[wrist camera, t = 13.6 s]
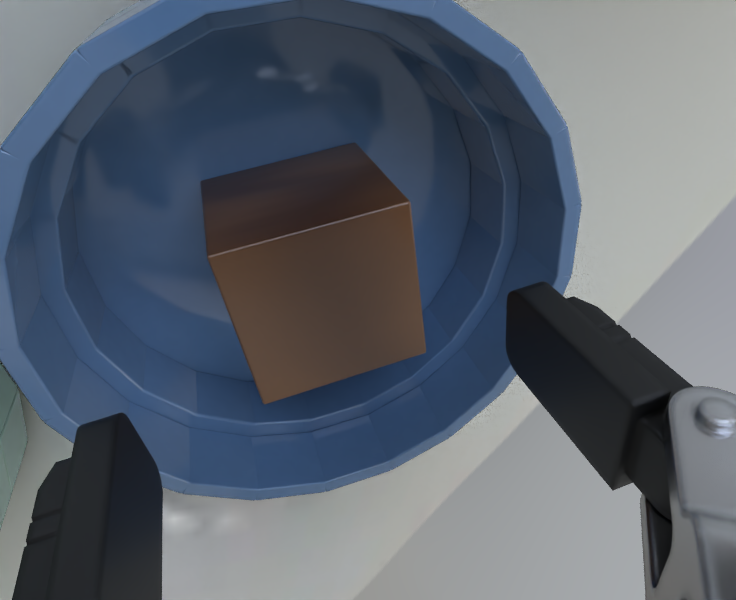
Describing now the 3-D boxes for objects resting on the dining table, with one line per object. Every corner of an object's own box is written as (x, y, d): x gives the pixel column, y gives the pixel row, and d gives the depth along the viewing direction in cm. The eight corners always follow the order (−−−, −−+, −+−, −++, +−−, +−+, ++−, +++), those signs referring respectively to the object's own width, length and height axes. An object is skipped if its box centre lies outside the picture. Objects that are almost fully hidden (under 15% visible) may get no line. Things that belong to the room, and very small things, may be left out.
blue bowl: (62, 399, 18) (29, 529, 14) (-5, -108, 11) (-110, -143, 7) (431, 381, 23) (485, 473, 19) (548, 22, 16) (673, 46, 12)
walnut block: (245, 309, 17) (263, 406, 14) (199, 180, 15) (206, 256, 11) (377, 271, 18) (427, 353, 14) (355, 141, 15) (411, 200, 12)
